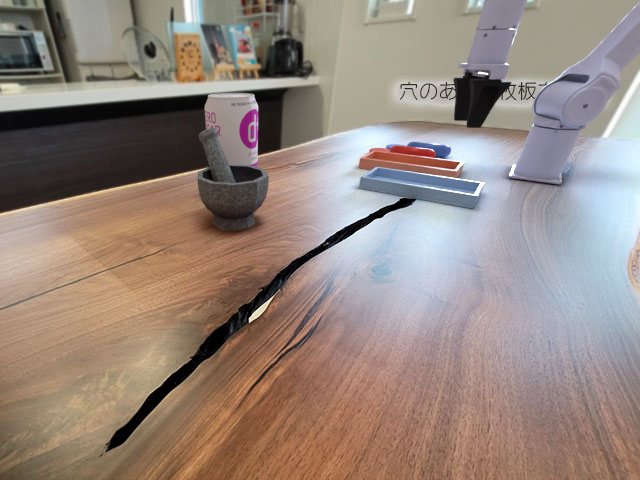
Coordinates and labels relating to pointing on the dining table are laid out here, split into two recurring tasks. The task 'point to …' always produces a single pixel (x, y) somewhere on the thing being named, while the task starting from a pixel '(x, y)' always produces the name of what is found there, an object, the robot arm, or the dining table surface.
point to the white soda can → (235, 125)
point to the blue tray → (423, 186)
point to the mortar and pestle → (230, 187)
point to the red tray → (412, 163)
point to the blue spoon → (438, 148)
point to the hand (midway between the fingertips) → (466, 123)
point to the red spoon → (407, 151)
